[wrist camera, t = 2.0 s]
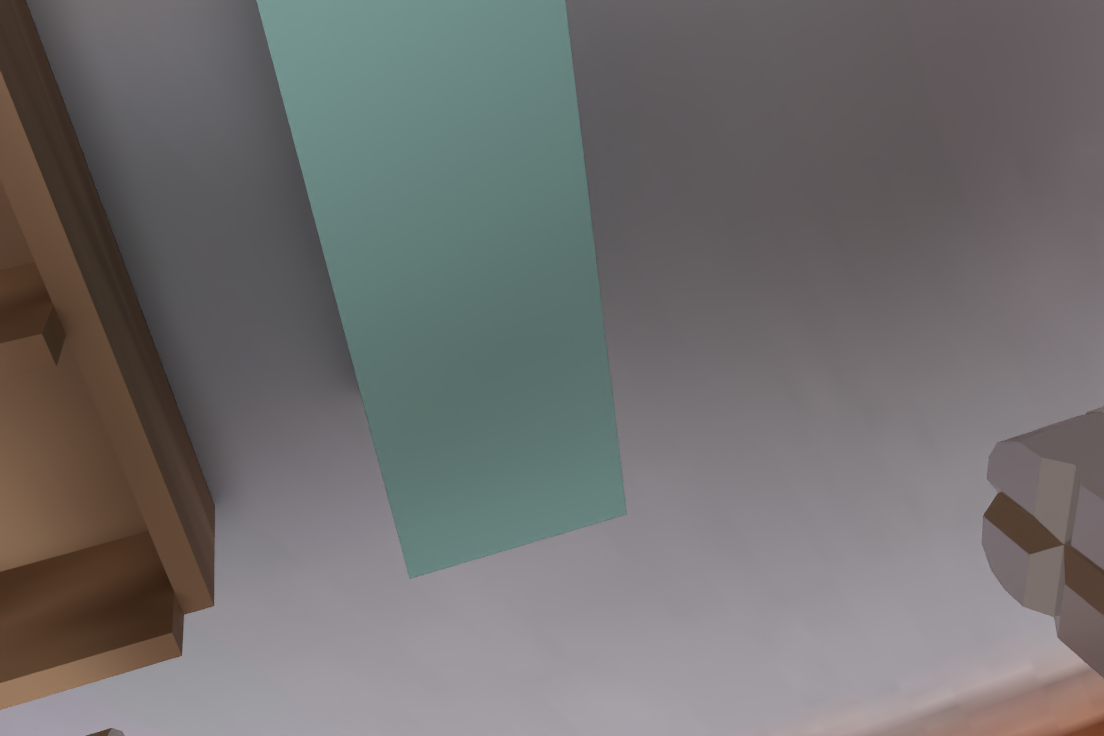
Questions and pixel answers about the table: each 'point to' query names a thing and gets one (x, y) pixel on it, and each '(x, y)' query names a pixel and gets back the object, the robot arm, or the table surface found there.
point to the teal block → (458, 260)
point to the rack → (81, 420)
